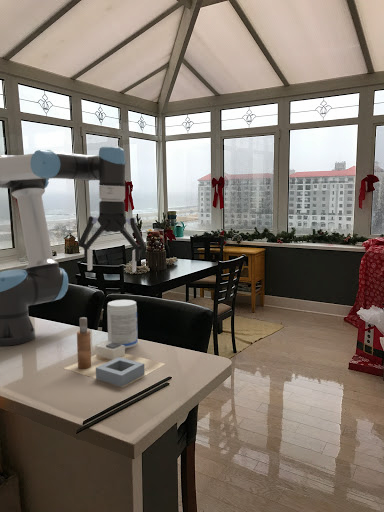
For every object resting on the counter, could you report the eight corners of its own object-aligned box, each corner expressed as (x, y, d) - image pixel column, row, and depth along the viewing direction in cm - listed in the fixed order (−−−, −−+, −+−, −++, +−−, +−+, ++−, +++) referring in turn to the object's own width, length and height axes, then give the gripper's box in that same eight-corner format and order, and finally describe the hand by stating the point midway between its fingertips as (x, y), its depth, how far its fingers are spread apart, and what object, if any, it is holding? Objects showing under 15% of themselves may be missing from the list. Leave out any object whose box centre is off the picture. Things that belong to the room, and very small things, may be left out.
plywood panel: (63, 371, 115) (63, 368, 114) (109, 352, 130) (108, 349, 130) (123, 391, 103) (123, 387, 103) (165, 367, 118) (165, 363, 118)
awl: (75, 367, 115) (73, 318, 113) (84, 363, 118) (83, 315, 116) (84, 370, 113) (82, 320, 111) (93, 365, 116) (92, 317, 115)
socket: (96, 378, 108) (95, 367, 108) (119, 367, 115) (119, 356, 115) (121, 386, 103) (121, 375, 103) (144, 374, 111) (144, 363, 110)
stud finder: (96, 355, 124) (96, 344, 124) (107, 350, 129) (107, 339, 128) (113, 360, 121) (113, 348, 120) (124, 354, 125) (124, 343, 124)
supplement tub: (143, 346, 135) (143, 302, 133) (119, 353, 128) (118, 308, 127) (126, 339, 142) (125, 297, 140) (102, 346, 135) (101, 302, 134)
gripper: (66, 199, 119) (67, 271, 122) (152, 202, 118) (151, 274, 121) (74, 199, 126) (75, 267, 130) (155, 201, 126) (154, 269, 129)
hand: (112, 270), depth 125 cm, fingers open, 13 cm apart
